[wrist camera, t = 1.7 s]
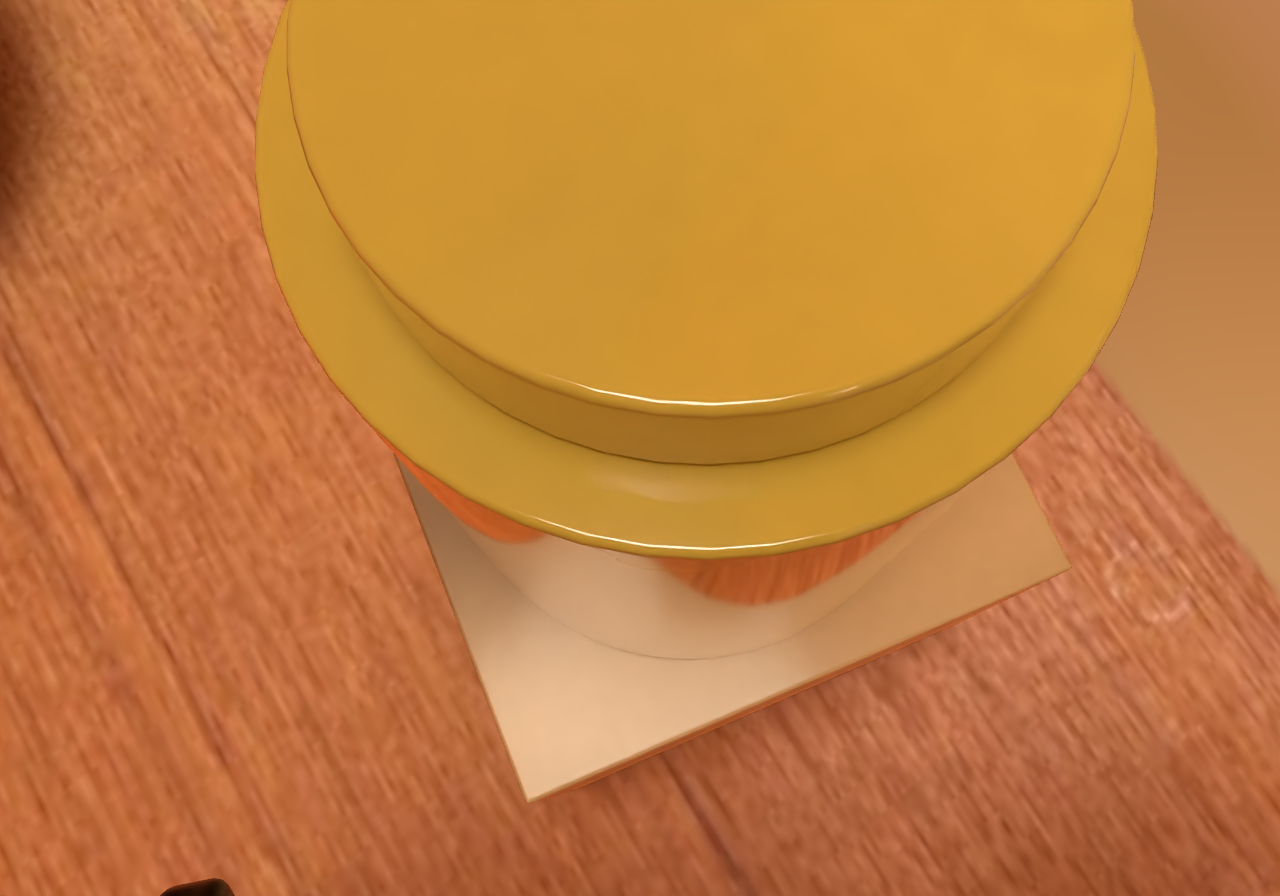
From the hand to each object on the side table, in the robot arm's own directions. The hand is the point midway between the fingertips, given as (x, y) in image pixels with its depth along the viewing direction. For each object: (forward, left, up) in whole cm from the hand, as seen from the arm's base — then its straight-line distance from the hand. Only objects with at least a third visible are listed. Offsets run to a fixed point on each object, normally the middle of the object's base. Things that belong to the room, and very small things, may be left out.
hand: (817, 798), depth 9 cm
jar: (+5, -1, -6) cm, 8 cm away
